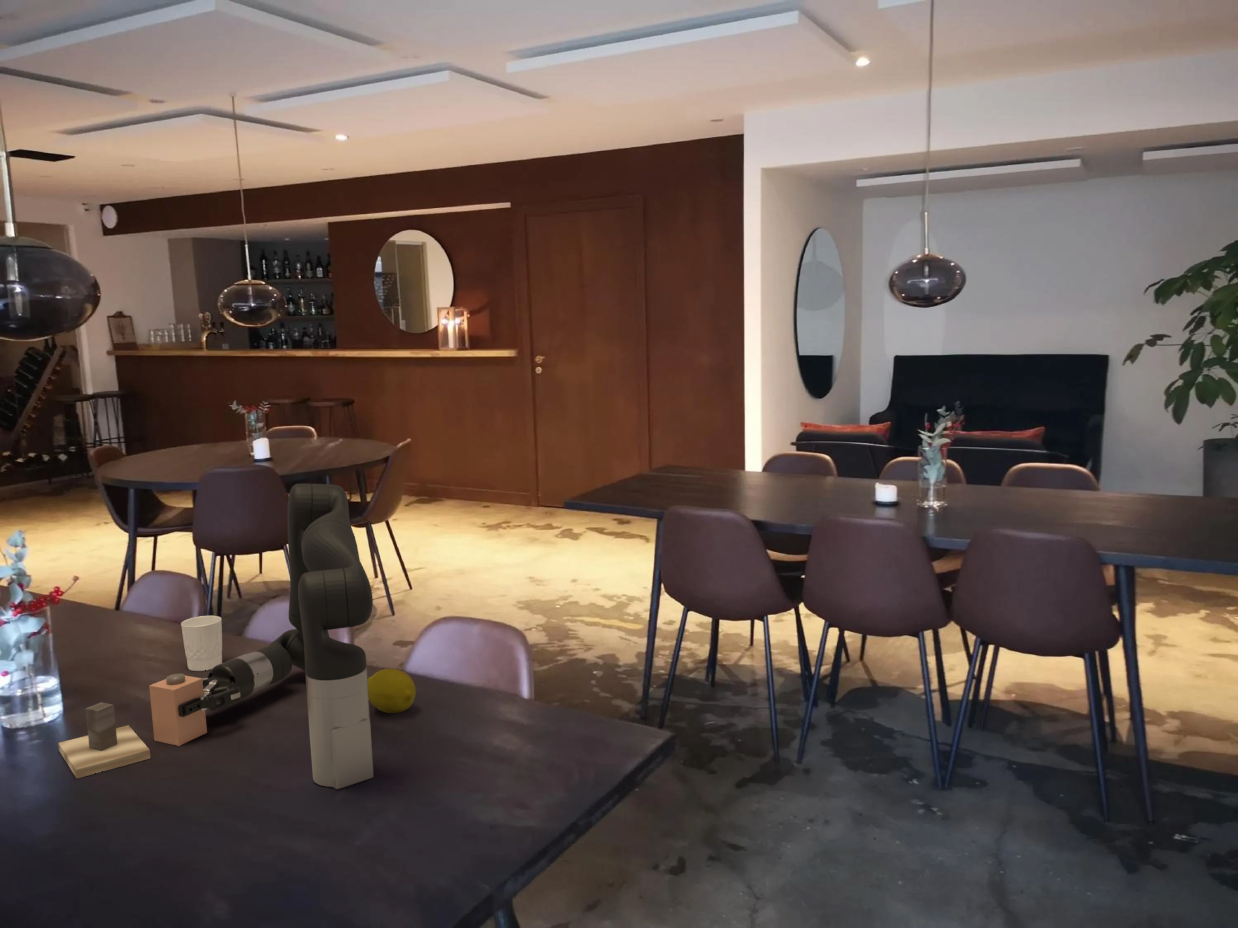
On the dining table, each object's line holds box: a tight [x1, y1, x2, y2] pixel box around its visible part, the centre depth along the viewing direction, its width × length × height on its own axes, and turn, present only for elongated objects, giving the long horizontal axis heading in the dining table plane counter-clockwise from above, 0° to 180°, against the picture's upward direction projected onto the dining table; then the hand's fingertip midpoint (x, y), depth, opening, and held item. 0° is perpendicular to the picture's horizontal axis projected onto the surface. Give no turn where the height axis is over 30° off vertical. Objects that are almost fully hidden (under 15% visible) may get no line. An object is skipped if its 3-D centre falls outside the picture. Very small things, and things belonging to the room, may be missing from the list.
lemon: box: [367, 668, 417, 714], centre depth 180 cm, size 11×8×8 cm
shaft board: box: [58, 702, 151, 779], centre depth 164 cm, size 14×11×8 cm
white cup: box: [180, 615, 223, 672], centre depth 207 cm, size 8×8×10 cm
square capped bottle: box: [148, 672, 208, 747], centre depth 170 cm, size 6×6×11 cm
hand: (166, 708), depth 168 cm, fingers closed on square capped bottle, 6 cm apart
